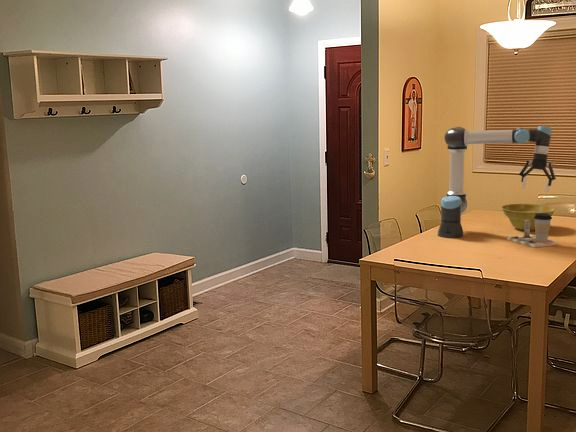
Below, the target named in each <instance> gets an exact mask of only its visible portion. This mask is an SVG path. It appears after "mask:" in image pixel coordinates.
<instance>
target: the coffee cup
mask: <svg viewBox="0 0 576 432" xmlns="http://www.w3.org/2000/svg"><path fill="white" fill-rule="evenodd" d="M534 218H535V230H534V233H535V236H536V241H538V242H547V239H548V237H549V233H550V227H551V221H552V220H553V217H552V216H551V215H550V214H536V215H535V216H534ZM548 240H549V239H548Z"/></svg>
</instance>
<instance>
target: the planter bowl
mask: <svg viewBox="0 0 576 432" xmlns="http://www.w3.org/2000/svg"><path fill="white" fill-rule="evenodd" d="M500 208H501V209H502V212H503V214H504V215H505V216H506V217H507V218H508V220H509V222H510V223H511V225H512V227H514V228H515V229H516V230H520V231H524V227H525V220H530V232H531V231H535V218H534V216H535V215H536V214H550V215H551V217H552V216H553V215H554V212H555V211H556V210H557V209H556V208H555V207H553V206H550V205H544V204H537V203H536V204H534V203H511V204H504V205H501V207H500Z"/></svg>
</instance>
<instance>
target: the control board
mask: <svg viewBox="0 0 576 432" xmlns="http://www.w3.org/2000/svg"><path fill="white" fill-rule="evenodd" d="M523 231H524V232H523V234H524V235H516V236H509V237H507V241H511V242H513V241H514V243H518V244H520V243H521V245H524V246H528V247H532V248H541V247H549V246H555V245H558V241H556V240H551V239H547V242H538V241H536V235H532V234H531V231H530V220H525V227H524V230H523Z"/></svg>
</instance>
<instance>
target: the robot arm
mask: <svg viewBox="0 0 576 432" xmlns="http://www.w3.org/2000/svg"><path fill="white" fill-rule="evenodd" d="M552 131H553V130H552V127H551V126H542V125H541V126H540V125H539V126H538V127H537V129H535V128H525V127H516V129H497V130H495V129H494V130H490V129H489V130H488V129H487V130H468V129H466V128H464V127H461V126H455V127H451V128H449V129H448V130H447V131H446V132H445V134H444V137H443V139H444V141H445V144H446V145H447V150H448V151H449V184H448V185H449V187H448V189H449V190H448V191H447V192H446V196H444V197H442V199H441V202H440V225H439V227H438V230H437V236H439V237H440V238H452V239H454V238H461V237H463V236H464V229H463V226H462V220H461V218H462V214H463V213H464V212H465V211H466V209H467V207H468V201H467V193H466V192H465V190H464V189H465V188H464V187H465V186H464V183H465V181H464V180H465V176H464V175H465V152H466V151H467V150H468V145H478V144H480V145H481V144H482V145H483V144H486V145H487V144H525V143H527V142H529V143H535V145H534V150H533V151H534V153H533V157H532V160H529V159H528V160H526V163H525V165H524V166H523V168H522V169H521V171H520V172H519V173H518V175H519V176H520V177H521V181H520V182H521V183H522V186H521V188H522V189H526V182H527V177H526V176H527V175H529V174H530V173H531V172H532V171H533V170H539V171H541V170H542V171H543V173H544V174H545V176H546V177H547V180H546V187H545V192H549V191H550V190H549V189H550V187H551V186H552V182H553V181H555V180H556V179H557V178H556V174H555V172H554V169H553V163H552V162H548V163H547V161H548V157H549V156H548V154H549V151H550V149H549V148H550V143H551V137H552ZM530 165H532V166H530ZM546 166H547V167H548V170H549V171H548V170H547V168H546ZM529 167H530V168H529ZM528 168H529V169H528ZM526 170H527V171H526Z"/></svg>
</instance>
